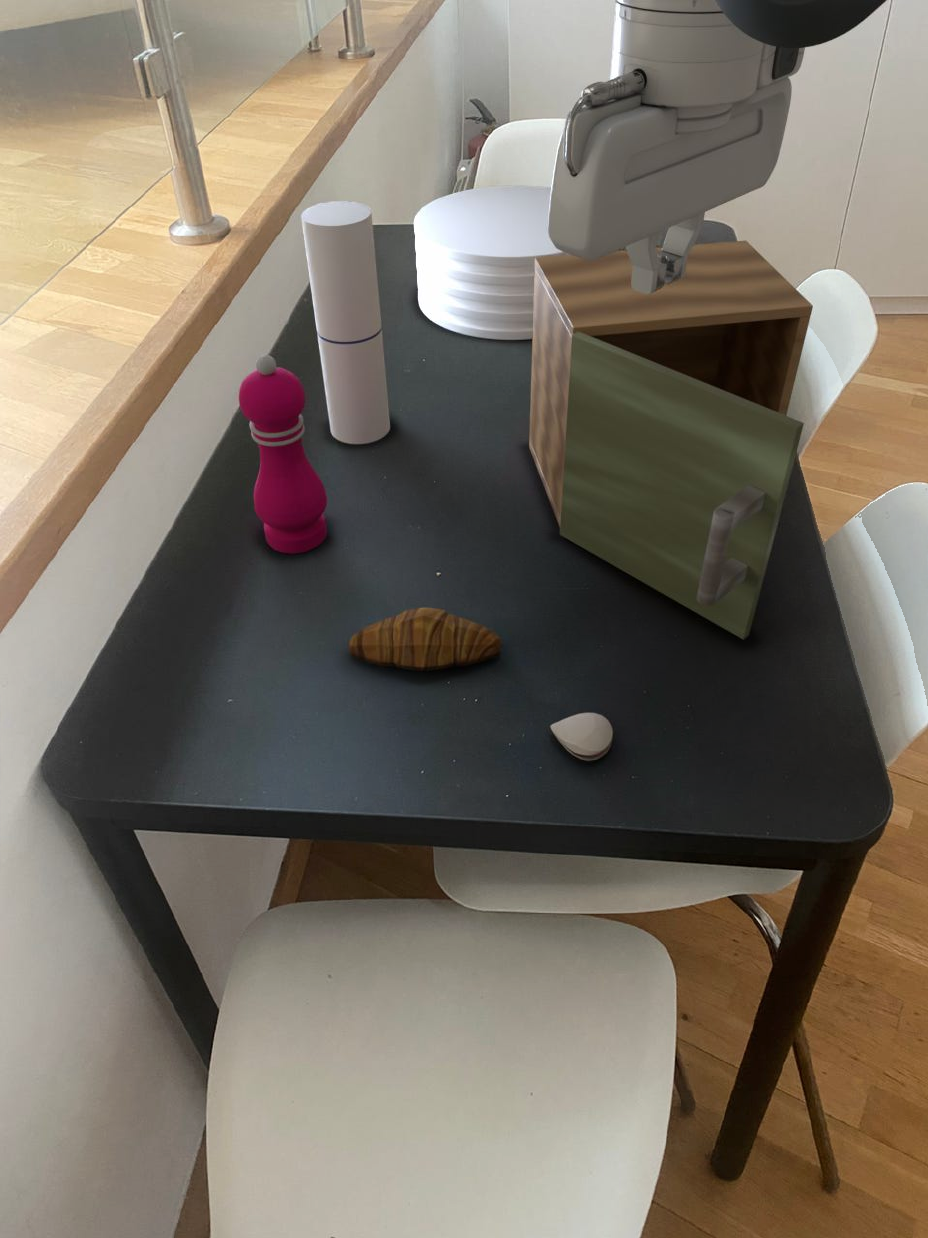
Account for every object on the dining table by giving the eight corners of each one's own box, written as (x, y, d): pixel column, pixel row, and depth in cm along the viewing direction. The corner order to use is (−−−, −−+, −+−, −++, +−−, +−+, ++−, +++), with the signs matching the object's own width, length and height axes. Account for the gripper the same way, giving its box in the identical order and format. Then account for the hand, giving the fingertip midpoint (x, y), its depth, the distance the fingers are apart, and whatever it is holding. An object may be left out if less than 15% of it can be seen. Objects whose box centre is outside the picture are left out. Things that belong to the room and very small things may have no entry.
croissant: (345, 685, 79) (339, 643, 76) (353, 631, 84) (348, 590, 81) (502, 684, 79) (503, 642, 76) (501, 630, 84) (501, 588, 81)
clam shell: (603, 772, 72) (606, 752, 70) (542, 756, 73) (543, 735, 71) (616, 732, 75) (619, 712, 73) (557, 717, 76) (558, 696, 74)
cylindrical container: (323, 441, 108) (292, 224, 91) (339, 410, 114) (312, 199, 97) (382, 446, 107) (361, 227, 90) (395, 414, 113) (378, 202, 96)
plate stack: (488, 247, 151) (488, 173, 144) (640, 285, 139) (649, 207, 131) (380, 309, 135) (373, 229, 127) (541, 358, 123) (544, 273, 115)
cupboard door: (708, 670, 79) (757, 455, 65) (523, 557, 91) (529, 354, 77) (749, 635, 83) (804, 422, 68) (565, 530, 94) (578, 330, 80)
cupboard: (764, 507, 97) (813, 305, 82) (560, 529, 95) (573, 327, 80) (711, 428, 109) (746, 239, 94) (529, 447, 106) (534, 257, 92)
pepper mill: (343, 521, 97) (319, 343, 83) (313, 563, 92) (282, 380, 78) (281, 509, 99) (248, 333, 85) (248, 549, 94) (207, 368, 80)
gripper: (615, 100, 48) (595, 348, 57) (821, 36, 58) (776, 255, 68) (527, 81, 51) (522, 318, 61) (736, 23, 62) (704, 234, 71)
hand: (657, 284), depth 64 cm, fingers closed
